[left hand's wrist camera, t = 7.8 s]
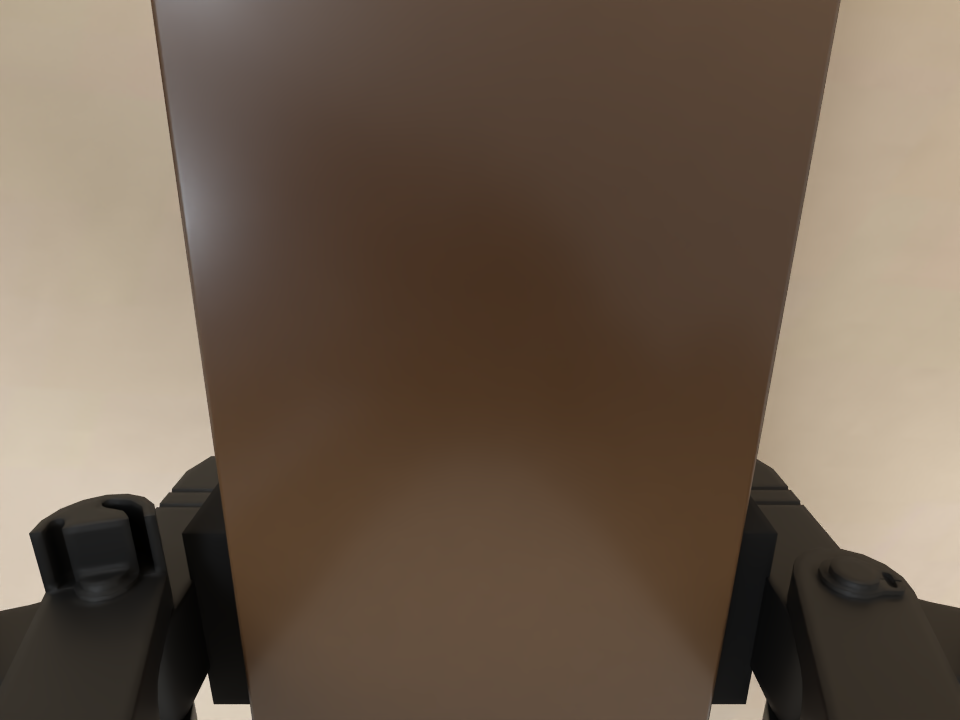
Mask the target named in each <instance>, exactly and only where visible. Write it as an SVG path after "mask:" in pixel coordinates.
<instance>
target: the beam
mask: <svg viewBox="0 0 960 720" xmlns="http://www.w3.org/2000/svg"><path fill="white" fill-rule="evenodd" d="M151 5H152V12H153V19H154V26H155V33H156V41H157V48H158V55H159V62H160V69H161V76H162V83H163V90H164V97H165V104H166V111H167V119H168V126H169V133H170V140H171V147H172V154H173V161H174V168H175V175H176V182H177V189H178V197H179V204H180V211H181V218H182V225H183V232H184V239H185V246H186V253H187V260H188V267H189V274H190V282H191V289H192V296H193V303H194V310H195V317H196V324H197V331H198V338H199V345H200V352H201V360H202V367H203V374H204V381H205V388H206V395H207V402H208V409H209V416H210V423H211V430H212V438H213V445H214V452H215V459H216V466H217V473H218V480H219V487H220V494H221V501H222V508H223V516H224V523H225V530H226V537H227V544H228V551H229V558H230V565H231V572H232V579H233V586H234V594H235V601H236V608H237V615H238V622H239V629H240V636H241V643H242V650H243V657H244V664H245V671H246V679H247V686H248V693H249V700H250V707H251V714H252V720H709V716H710V710H711V705H712V700H713V694H714V689H715V683H716V678H717V672H718V667H719V661H720V656H721V650H722V645H723V639H724V634H725V629H726V623H727V618H728V612H729V607H730V601H731V596H732V590H733V585H734V579H735V574H736V568H737V563H738V557H739V552H740V547H741V541H742V536H743V530H744V525H745V519H746V514H747V508H748V503H749V497H750V492H751V486H752V481H753V476H754V470H755V465H756V459H757V454H758V448H759V443H760V437H761V432H762V426H763V421H764V415H765V410H766V405H767V399H768V394H769V388H770V383H771V377H772V372H773V366H774V361H775V355H776V350H777V344H778V339H779V333H780V328H781V323H782V317H783V312H784V306H785V301H786V295H787V290H788V284H789V279H790V273H791V268H792V262H793V257H794V252H795V246H796V241H797V235H798V230H799V224H800V219H801V213H802V208H803V202H804V197H805V191H806V186H807V180H808V175H809V170H810V164H811V159H812V153H813V148H814V142H815V137H816V131H817V126H818V120H819V115H820V109H821V104H822V99H823V93H824V88H825V82H826V77H827V71H828V66H829V60H830V55H831V49H832V44H833V38H834V33H835V28H836V22H837V17H838V11H839V6H840V0H151Z"/></svg>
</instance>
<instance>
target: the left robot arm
mask: <svg viewBox="0 0 960 720" xmlns="http://www.w3.org/2000/svg"><path fill="white" fill-rule="evenodd" d="M29 535H30V538H31V542H32V545H33V549H34V552H35V556H36V559H37V563H38V566H39V570H40V573H41V577H42V581H43V584H44V588H45V591H46V593H45V595H44V597H43V599H42V601H41V602H39V603H36V604H32V605H28V606H23V607H18V608H13V609H8V610H3V611H0V720H197V714H196V709H195V704H194V700H195V698H196V696H197V694H198V692H199V689H200V687H201V685H202V683H203V681H204V679H205V677H206V675H207V673H208V676H209V681H210V687H211V692H212V697H213V703H214V704H250V700H249V693H248V686H247V679H246V671H245V664H244V657H243V650H242V643H241V636H240V629H239V622H238V615H237V608H236V601H235V594H234V586H233V579H232V572H231V565H230V558H229V551H228V544H227V537H226V530H225V523H224V516H223V508H222V501H221V494H220V487H219V480H218V473H217V466H216V459H215V456H211V457H209V458H208V459H206V460H204V461H203V462H201V463H200V464H198V465H196V466H195V467H193V468H191V469H190V470H188V471H187V472H186V473H185V474H184V475H183V476H182V478H181V479H180V480H179V481H178V482H177V484H176V485H175V486H174V487H173V488H172V492H169V493H168V494H167V496H166V497H165V498H164V499H163V500H162V502H161V503H160V507H157V508H156V509H155V506H154V504H153V503H152V502H150V501H149V500H148V499H146V498H145V497H141V496H136V495H131V494H114V495H104V496H99V497H95V498H90V499H86V500H82V501H80V502H77V503H75V504H72V505H69V506H67V507H64V508H62V509H60V510H58V511H56V512H55V513H53V514H51V515H50V516H48V517H47V518H45V519H43V520H42V521H41V522H40V523H39V524H38V525H37V526H36V527H35V528H34V529H33V530H32V531H31V532H30V533H29ZM752 671H753V673H754V675H755V677H756V679H757V681H758V683H759V685H760V687H761V689H762V691H763V693H764V695H765V697H766V704H765V709H764V714H763V719H762V720H960V608H956V607H952V606H947V605H942V604H937V603H932V602H928V601H924V600H920V599H918V598H917V596H916V594H915V592H914V591H913V589H912V588H911V587H910V585H909V584H908V583H907V582H906V580H905V579H904V578H903V577H902V576H901V575H899V574H898V573H896V572H895V571H894V570H892V569H891V568H889V567H888V566H887V565H885V564H883V563H881V562H879V561H876V560H874V559H872V558H870V557H868V556H865V555H863V554H859V553H855V552H851V551H847V550H843V549H840V548H839V547H838V546H837V544H836V543H835V542H834V541H833V540H832V538H831V537H830V536H829V535H828V534H827V532H826V531H825V530H824V529H823V528H822V527H821V525H820V524H819V523H818V522H817V521H816V519H815V518H814V517H813V516H812V515H811V513H810V512H809V511H808V510H807V509H806V508H805V506H804V505H800V500H799V499H798V498H797V497H796V496H795V494H794V493H793V492H792V491H791V490H788V486H787V485H786V484H785V483H784V481H783V480H782V479H781V478H780V477H779V475H778V474H777V473H776V472H775V471H774V469H772V468H771V467H769V466H767V465H766V464H764V463H762V462H761V461H759V460H757V459H756V465H755V470H754V476H753V481H752V486H751V492H750V497H749V503H748V508H747V514H746V519H745V525H744V530H743V536H742V541H741V547H740V552H739V557H738V563H737V568H736V574H735V579H734V585H733V590H732V596H731V601H730V607H729V612H728V618H727V623H726V629H725V634H724V639H723V645H722V650H721V656H720V661H719V667H718V672H717V678H716V683H715V689H714V694H713V700H712V704H746V700H747V695H748V690H749V684H750V679H751V674H752Z"/></svg>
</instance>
